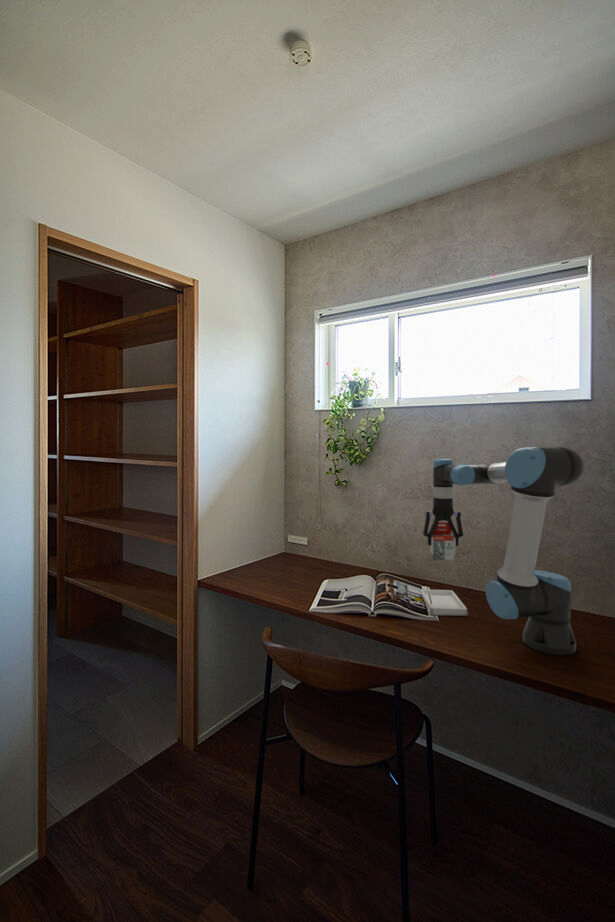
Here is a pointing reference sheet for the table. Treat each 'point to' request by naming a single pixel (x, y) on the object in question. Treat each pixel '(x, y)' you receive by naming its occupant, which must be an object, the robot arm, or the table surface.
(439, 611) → the tray
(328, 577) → the table surface
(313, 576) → the table surface
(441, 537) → the ink box
